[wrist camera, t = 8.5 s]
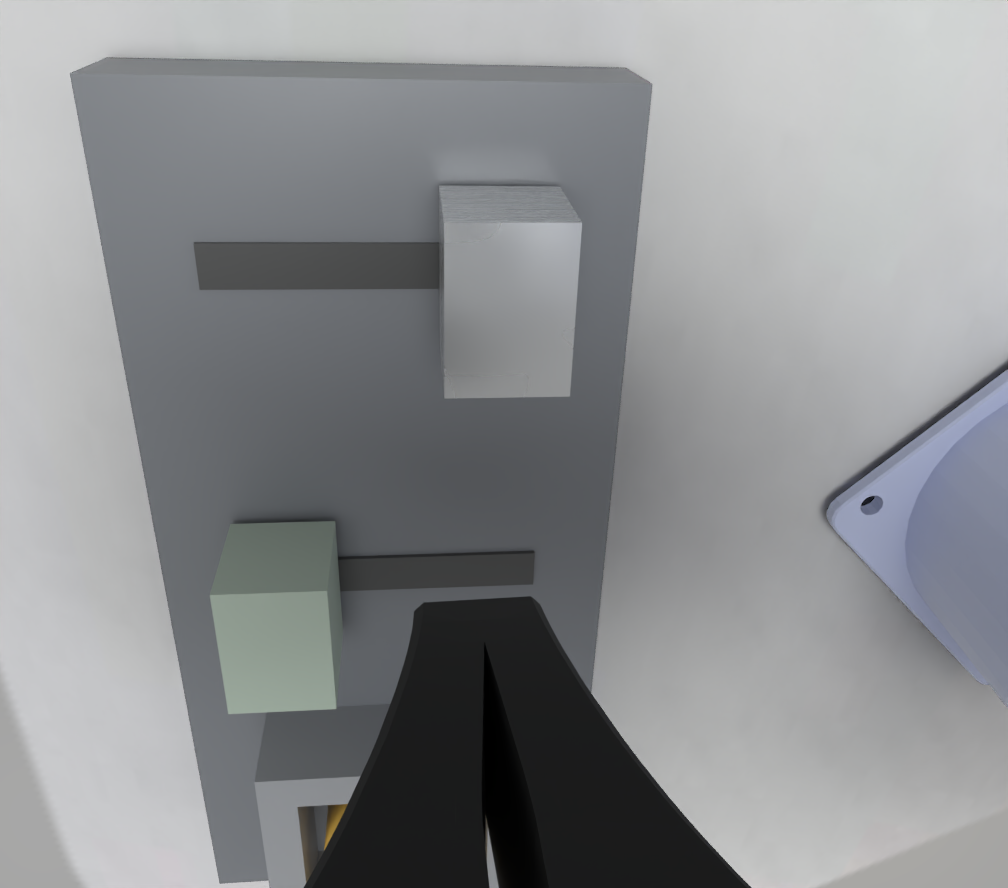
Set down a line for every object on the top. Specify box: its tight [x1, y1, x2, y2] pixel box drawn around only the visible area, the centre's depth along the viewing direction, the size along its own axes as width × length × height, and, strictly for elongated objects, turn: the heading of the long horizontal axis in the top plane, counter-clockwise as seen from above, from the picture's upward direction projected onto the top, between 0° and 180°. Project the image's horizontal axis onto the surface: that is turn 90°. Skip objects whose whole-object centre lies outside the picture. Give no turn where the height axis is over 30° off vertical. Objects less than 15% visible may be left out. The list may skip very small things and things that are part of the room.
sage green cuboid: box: [210, 521, 343, 714], centre depth 18 cm, size 3×2×2 cm
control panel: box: [70, 58, 652, 888], centre depth 19 cm, size 19×9×4 cm, turn 179°
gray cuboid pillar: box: [439, 186, 582, 399], centre depth 15 cm, size 3×2×2 cm
